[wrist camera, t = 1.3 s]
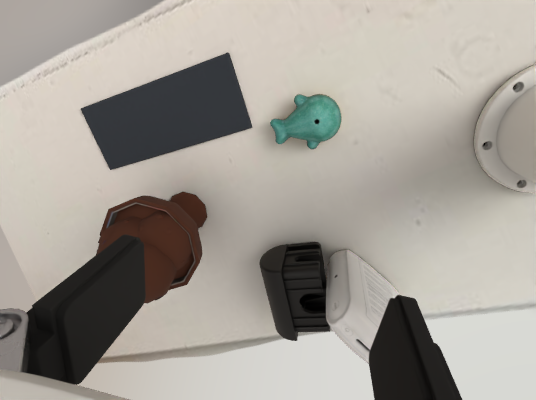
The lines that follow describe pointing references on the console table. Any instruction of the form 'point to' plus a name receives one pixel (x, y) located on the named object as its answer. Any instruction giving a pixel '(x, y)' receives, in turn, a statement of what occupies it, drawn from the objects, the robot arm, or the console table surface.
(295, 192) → the console table surface
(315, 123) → the whale figurine
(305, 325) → the end cap
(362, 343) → the photo printer
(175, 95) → the plate
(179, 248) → the ice cream bowl
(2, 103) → the console table surface
